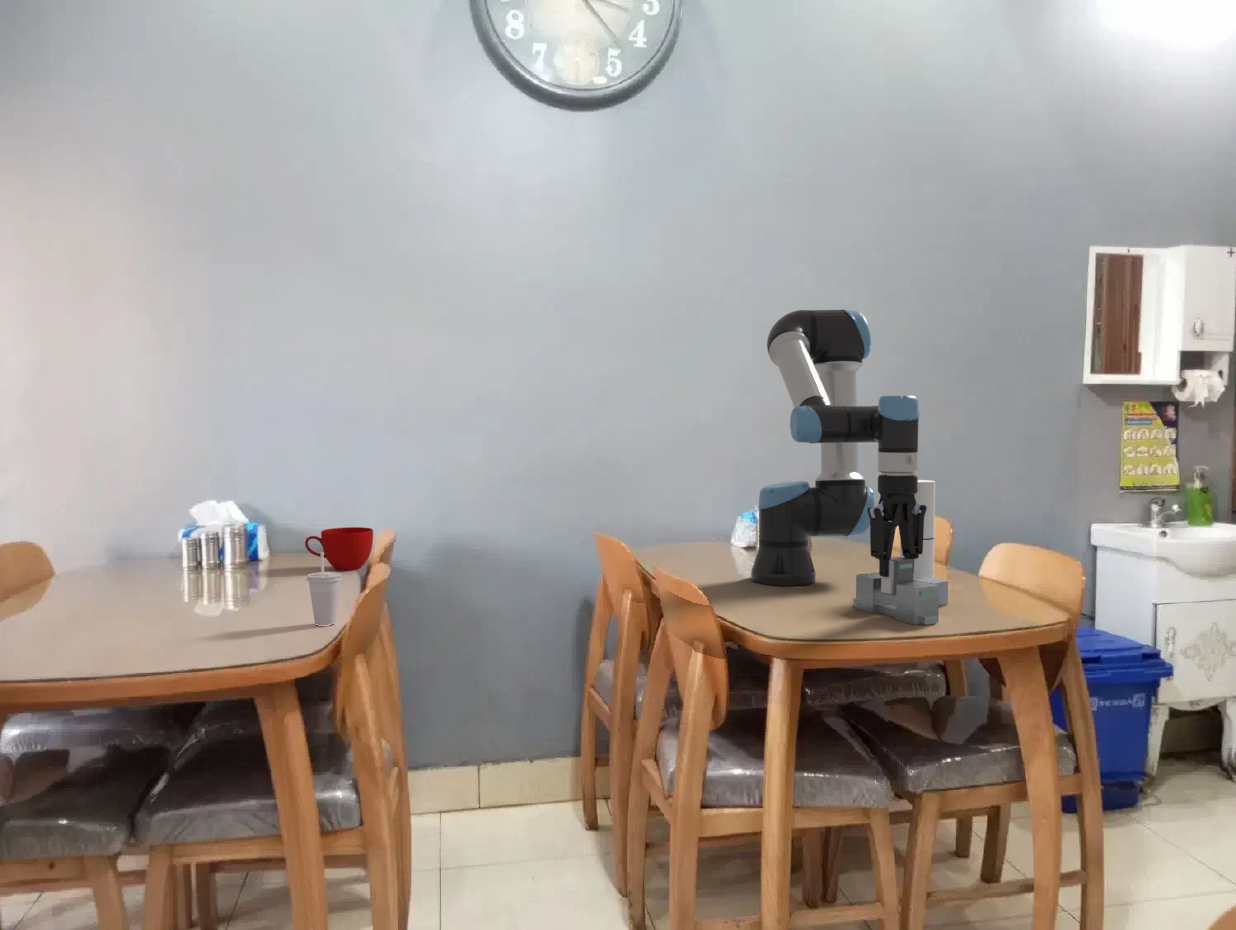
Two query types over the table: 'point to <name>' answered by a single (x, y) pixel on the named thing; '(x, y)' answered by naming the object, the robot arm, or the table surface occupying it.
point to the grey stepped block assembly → (898, 600)
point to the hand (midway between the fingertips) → (896, 591)
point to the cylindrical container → (925, 531)
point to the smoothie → (324, 594)
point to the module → (902, 571)
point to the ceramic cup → (345, 547)
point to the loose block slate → (942, 588)
